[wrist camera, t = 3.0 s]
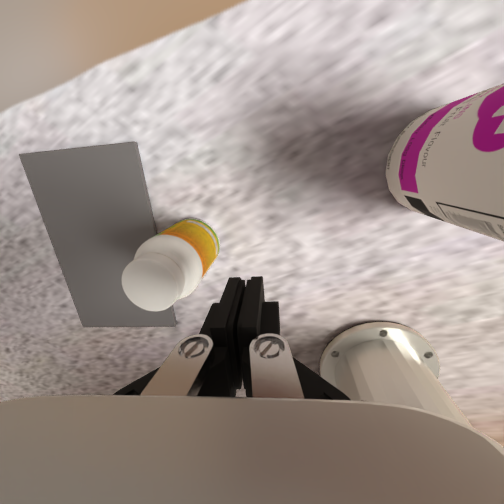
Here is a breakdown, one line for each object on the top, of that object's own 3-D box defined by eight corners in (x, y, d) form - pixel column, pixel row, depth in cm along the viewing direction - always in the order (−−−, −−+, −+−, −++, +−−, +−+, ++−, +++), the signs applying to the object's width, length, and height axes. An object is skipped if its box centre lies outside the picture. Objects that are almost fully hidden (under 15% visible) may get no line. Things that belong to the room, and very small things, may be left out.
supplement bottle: (184, 207, 24) (126, 232, 15) (230, 235, 25) (202, 276, 15) (162, 249, 26) (99, 295, 17) (206, 275, 26) (168, 333, 17)
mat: (176, 324, 29) (175, 326, 28) (86, 324, 30) (83, 327, 30) (136, 142, 22) (133, 141, 22) (23, 154, 24) (18, 154, 23)
